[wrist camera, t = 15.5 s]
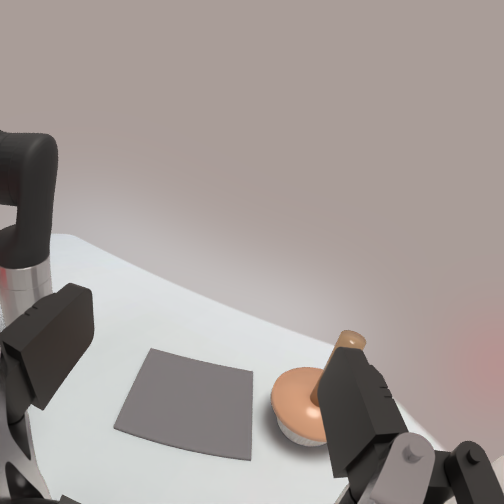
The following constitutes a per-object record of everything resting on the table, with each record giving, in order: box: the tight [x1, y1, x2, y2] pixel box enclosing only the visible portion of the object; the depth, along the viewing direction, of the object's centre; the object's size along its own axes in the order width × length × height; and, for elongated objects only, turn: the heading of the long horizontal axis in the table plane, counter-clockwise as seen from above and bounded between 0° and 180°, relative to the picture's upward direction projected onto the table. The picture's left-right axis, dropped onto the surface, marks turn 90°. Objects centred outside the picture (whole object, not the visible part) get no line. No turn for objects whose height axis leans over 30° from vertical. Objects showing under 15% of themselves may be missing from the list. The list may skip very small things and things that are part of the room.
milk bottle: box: [444, 455, 504, 504], centre depth 13 cm, size 8×8×20 cm
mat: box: [114, 348, 253, 461], centre depth 37 cm, size 18×18×1 cm
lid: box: [271, 330, 366, 442], centre depth 33 cm, size 14×14×12 cm
